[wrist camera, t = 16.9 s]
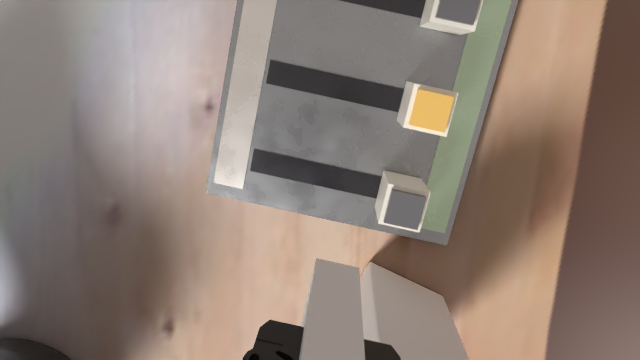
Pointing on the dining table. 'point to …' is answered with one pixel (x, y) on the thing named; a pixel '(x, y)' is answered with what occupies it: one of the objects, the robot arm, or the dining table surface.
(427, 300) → the milk carton
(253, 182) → the panel
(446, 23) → the block
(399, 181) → the block
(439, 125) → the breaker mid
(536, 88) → the dining table surface
